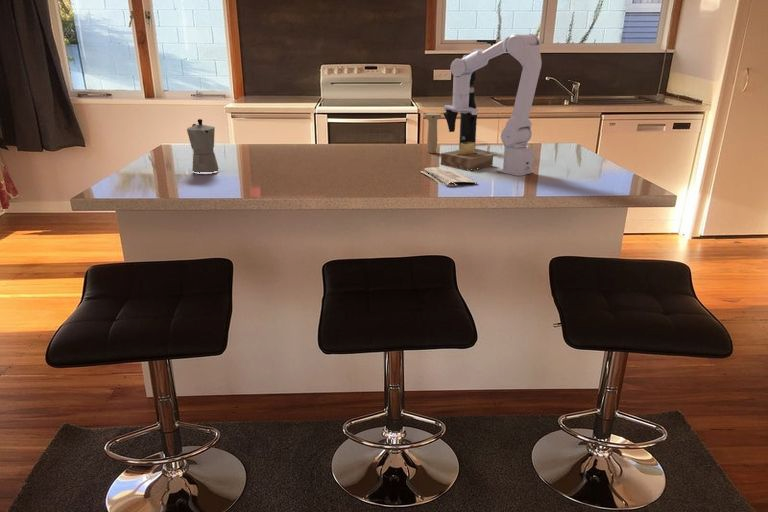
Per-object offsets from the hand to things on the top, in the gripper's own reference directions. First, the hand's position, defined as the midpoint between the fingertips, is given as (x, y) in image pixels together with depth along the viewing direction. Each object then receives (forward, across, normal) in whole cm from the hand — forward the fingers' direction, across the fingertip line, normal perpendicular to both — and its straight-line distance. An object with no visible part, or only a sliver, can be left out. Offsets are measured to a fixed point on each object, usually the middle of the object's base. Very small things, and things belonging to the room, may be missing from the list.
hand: (459, 133), depth 214 cm
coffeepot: (+11, -46, -78) cm, 91 cm away
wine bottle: (+11, -14, +20) cm, 27 cm away
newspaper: (+11, +16, -21) cm, 29 cm away
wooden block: (+10, +6, -2) cm, 12 cm away
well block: (+10, +6, -2) cm, 12 cm away
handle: (+11, -18, +4) cm, 21 cm away
